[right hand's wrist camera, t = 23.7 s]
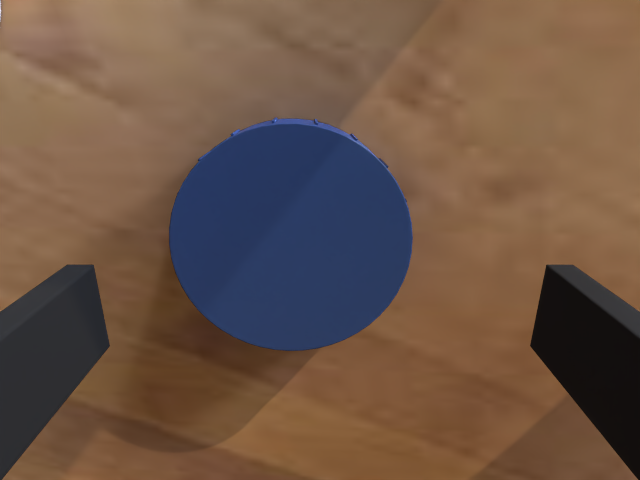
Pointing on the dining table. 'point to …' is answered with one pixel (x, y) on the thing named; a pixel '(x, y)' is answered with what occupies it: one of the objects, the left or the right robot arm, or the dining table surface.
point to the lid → (290, 235)
